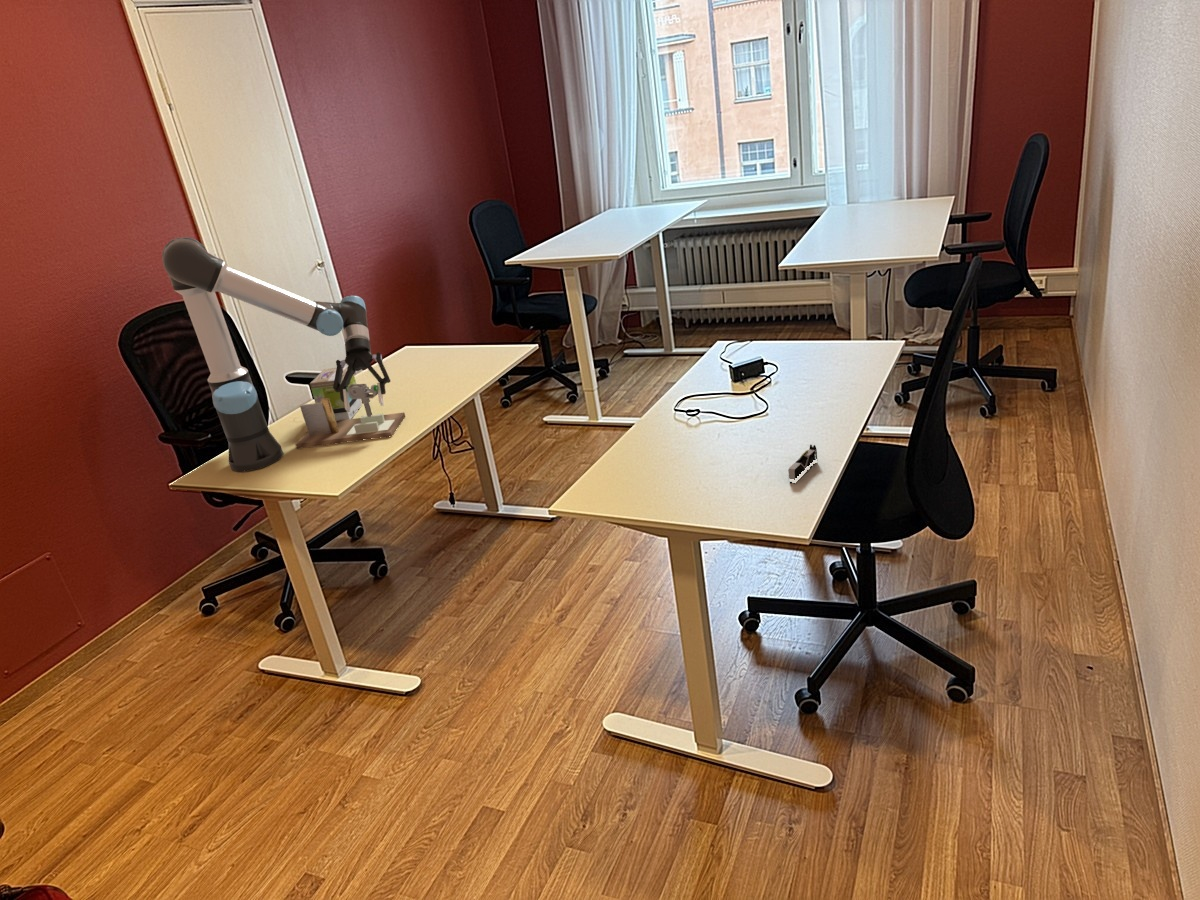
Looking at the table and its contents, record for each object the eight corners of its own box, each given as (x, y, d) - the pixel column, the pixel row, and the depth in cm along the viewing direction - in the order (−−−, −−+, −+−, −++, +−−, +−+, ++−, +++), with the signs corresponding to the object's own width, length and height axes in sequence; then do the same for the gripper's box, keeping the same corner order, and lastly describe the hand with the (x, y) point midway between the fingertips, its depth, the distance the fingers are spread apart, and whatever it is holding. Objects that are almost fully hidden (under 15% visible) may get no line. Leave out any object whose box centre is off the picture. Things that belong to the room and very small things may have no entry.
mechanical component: (382, 417, 244) (374, 386, 239) (352, 418, 246) (343, 388, 242) (386, 413, 246) (378, 382, 242) (357, 414, 249) (348, 384, 245)
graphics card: (811, 463, 188) (805, 444, 187) (821, 462, 186) (815, 443, 185) (789, 485, 180) (783, 465, 178) (799, 484, 178) (793, 464, 177)
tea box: (351, 421, 260) (338, 379, 254) (321, 426, 260) (307, 383, 254) (363, 405, 274) (351, 364, 268) (334, 409, 274) (322, 368, 268)
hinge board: (297, 448, 245) (284, 410, 240) (315, 428, 259) (304, 391, 254) (391, 436, 242) (381, 398, 237) (405, 416, 257) (395, 380, 252)
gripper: (395, 341, 254) (404, 405, 246) (325, 354, 253) (331, 419, 245) (389, 330, 247) (398, 394, 239) (317, 343, 246) (323, 409, 238)
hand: (364, 407), depth 242 cm, fingers closed on mechanical component, 9 cm apart
